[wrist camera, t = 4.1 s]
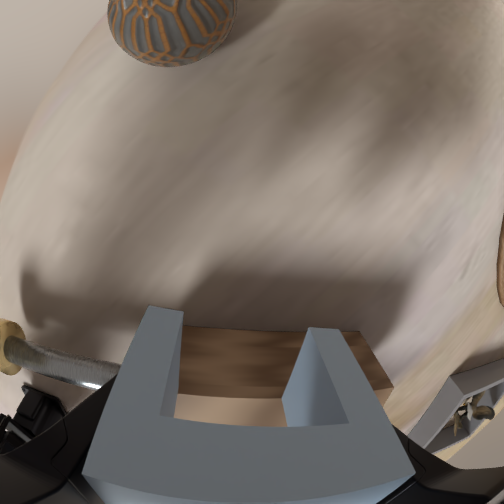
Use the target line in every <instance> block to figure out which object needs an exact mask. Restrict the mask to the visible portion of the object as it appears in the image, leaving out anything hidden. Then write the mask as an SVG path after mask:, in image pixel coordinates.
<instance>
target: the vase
mask: <svg viewBox="0 0 504 504" xmlns="http://www.w3.org/2000/svg"><path fill="white" fill-rule="evenodd" d="M236 9H237V0H109V4H108V13H107V15H108V23H109V27H110V30H111V33H112V35H113V37H114V39H115V41H116V42H117V44H118V45H119V46H120V47H121V48H122V49H123V50H124V51H125V52H126V53H128V54H129V55H130V56H132V57H133V58H135V59H137V60H139V61H141V62H143V63H146V64H150V65H154V66H160V67H175V66H182V65H186V64H190V63H193V62H195V61H198V60H200V59H202V58H204V57H206V56H207V55H209V54H210V53H212V52H213V51H214V50H215V49H216V48H217V47H218V46H220V44H221V43H222V42H223V41H224V40H225V39H226V37H227V36H228V34H229V32H230V31H231V29H232V26H233V24H234V20H235V16H236Z"/></svg>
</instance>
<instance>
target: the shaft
mask: <svg viewBox="0 0 504 504" xmlns="http://www.w3.org/2000/svg"><path fill="white" fill-rule="evenodd" d="M121 365H122V364H118V363H112V362H107V361H103V360H98V359H93V358H89V357H85V356H80V355H76V354H72V353H68V352H65V351H61V350H57V349H54V348H50V347H47V346H43V345H40V344H37V343H33V342H30V341H27V340H26V338H25V334H24V332H23V330H22V328H21V327H20V326H19V325H18V324H17V323H15V322H12V321H9V320H6V319H2V318H1V319H0V371H1V372H3V373H5V374H7V375H15V374H17V373H18V372H19V371H20V370H21V368H22V367H23V368H26V369H28V370H31V371H34V372H36V373H39V374H42V375H45V376H48V377H51V378H54V379H57V380H60V381H63V382H67V383H70V384H73V385H77V386H80V387H84V388H88V389H92V390H98V389H99V388H100V387H101V386H103V385H104V384H105V383H106V382H108V381H109V380H110V379H111V378H112V377H114V376H115V375H116V374H117V373H118V372H119V370H120V368H121Z"/></svg>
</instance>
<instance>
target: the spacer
mask: <svg viewBox="0 0 504 504" xmlns="http://www.w3.org/2000/svg"><path fill="white" fill-rule="evenodd" d="M183 313H184V311H178V310H172V309H167V308H161V307H155V306H150V305H149V306H148V308H147V310H146V312H145V314H144V316H143V318H142V320H141V323H140V325H139V327H138V329H137V331H136V333H135V336H134V338H133V340H132V342H131V345H130V347H129V349H128V351H127V354H126V356H125V358H124V361H123V363H122V365H121V368H120V370H119V372H118V375H117V377H116V380H115V382H114V384H113V387H112V389H111V392H110V394H109V397H108V400H107V402H106V405H105V407H104V410H103V413H102V415H101V418H100V421H99V423H98V426H97V429H96V432H95V435H94V437H93V440H92V443H91V446H90V449H89V452H88V455H87V458H86V461H85V465H84V468H83V471H82V475H83V476H84V478H85V479H86V480H87V482H88V483H89V484H90V486H91V487H92V488H93V489H94V491H95V492H96V493H97V495H98V496H99V497H100V498H101V499H102V501H103V502H104V503H105V504H376V503H378V502H379V501H380V500H382V499H383V498H385V497H386V496H387V495H389V494H390V493H391V492H393V491H394V490H395V489H397V488H398V487H399V486H401V485H402V484H403V483H404V482H406V481H407V480H408V479H409V478H410V477H412V476H413V475H414V474H415V473H416V472H415V470H414V468H413V466H412V464H411V462H410V460H409V458H408V456H407V454H406V452H405V450H404V448H403V446H402V444H401V442H400V440H399V438H398V436H397V434H396V432H395V430H394V428H393V426H392V424H391V422H390V421H389V419H388V417H387V415H386V413H385V411H384V409H383V407H382V406H381V404H380V402H379V400H378V398H377V396H376V394H375V393H374V391H373V389H372V387H371V385H370V383H369V382H368V380H367V378H366V376H365V374H364V373H363V371H362V369H361V367H360V365H359V364H358V362H357V360H356V358H355V357H354V355H353V353H352V351H351V350H350V348H349V346H348V344H347V343H346V341H345V339H344V337H343V336H342V334H341V332H340V330H339V329H328V328H315V327H309V328H308V331H307V334H306V336H305V339H304V342H303V345H302V347H301V350H300V353H299V355H298V358H297V361H296V363H295V366H294V369H293V371H292V374H291V376H290V379H289V381H288V384H287V386H286V389H285V391H284V394H283V396H282V403H283V407H284V412H285V417H286V422H287V426H288V427H261V426H240V425H226V424H216V423H206V422H198V421H191V420H184V419H177V418H174V413H175V406H176V400H177V394H178V387H179V367H180V351H181V337H182V324H183Z"/></svg>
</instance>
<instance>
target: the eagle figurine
mask: <svg viewBox="0 0 504 504" xmlns="http://www.w3.org/2000/svg"><path fill="white" fill-rule="evenodd" d="M485 391H486V390H485ZM485 391H483V392H480V393H478V394H476V395H473V399H472V402H471V403H469V402H467V403H464V404H463V405H464V406H461V407H459V408H458V409H457V410H456V412H455V413H454V420H455V423H454V435H455V436H456V433H457V427H458V428H459V429H460V428H463V427H462V423H461V420H462V418H465V417H466V416H468V419H469V420H470V421H471V416H473V418H474V419H476V420H482V419H489V420H492V419H493V418H494V416H495V413H494V410H493V408H491V407H489V406H484V405H482V406H478V407H477V404H478V402H479V401H480V399H481V398H482V397H483V395H484V394H485ZM462 410H465V411H466V412H465V413H464V414H463V415H462V416H460V415H459V414H458V411H462Z"/></svg>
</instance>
